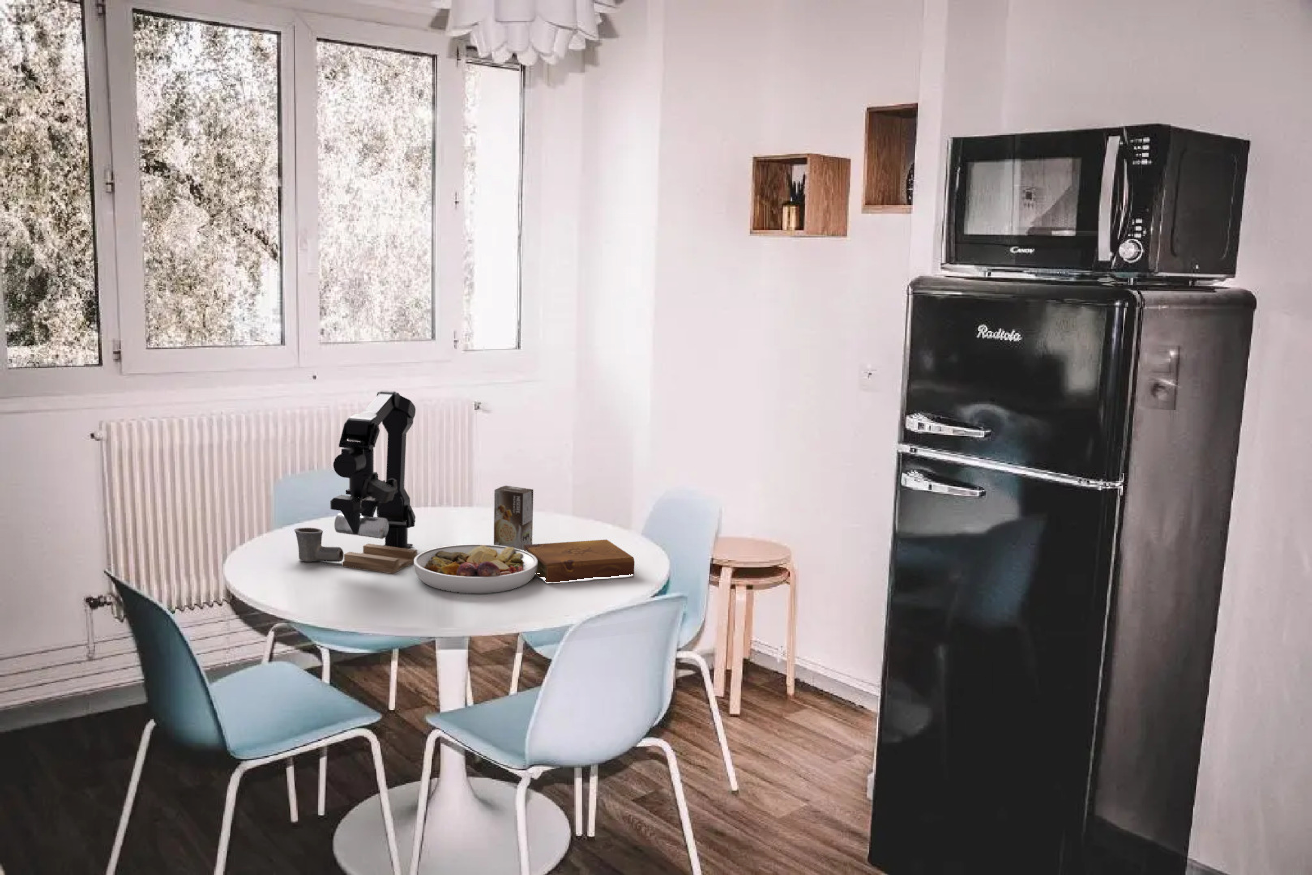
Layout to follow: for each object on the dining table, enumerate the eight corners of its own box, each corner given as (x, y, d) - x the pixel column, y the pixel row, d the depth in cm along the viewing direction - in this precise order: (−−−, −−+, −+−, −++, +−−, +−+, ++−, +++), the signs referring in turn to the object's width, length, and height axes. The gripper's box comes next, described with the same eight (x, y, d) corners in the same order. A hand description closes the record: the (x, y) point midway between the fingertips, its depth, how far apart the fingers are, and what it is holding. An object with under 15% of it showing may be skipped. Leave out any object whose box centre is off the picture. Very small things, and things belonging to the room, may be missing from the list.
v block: (369, 554, 307) (369, 542, 307) (418, 560, 303) (418, 549, 303) (342, 566, 295) (342, 554, 294) (392, 573, 291) (392, 561, 290)
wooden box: (547, 587, 288) (547, 564, 287) (523, 566, 305) (523, 544, 304) (633, 579, 298) (634, 557, 297) (605, 559, 314) (606, 538, 313)
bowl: (402, 567, 298) (402, 536, 297) (516, 559, 310) (517, 530, 309) (429, 602, 271) (429, 569, 270) (553, 592, 283) (554, 560, 282)
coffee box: (533, 546, 322) (535, 489, 319) (522, 551, 316) (523, 493, 314) (503, 542, 325) (505, 484, 323) (492, 547, 320) (493, 489, 317)
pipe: (336, 567, 294) (336, 535, 293) (288, 561, 297) (288, 531, 295) (347, 560, 300) (347, 530, 299) (300, 555, 303) (300, 525, 301)
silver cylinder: (345, 530, 293) (345, 510, 292) (388, 535, 289) (388, 516, 288) (334, 535, 288) (334, 515, 287) (378, 541, 285) (378, 520, 284)
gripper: (370, 480, 275) (370, 544, 277) (410, 465, 292) (409, 526, 295) (328, 475, 278) (329, 539, 281) (370, 460, 295) (370, 520, 298)
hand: (361, 531), depth 289 cm, fingers closed on silver cylinder, 5 cm apart
